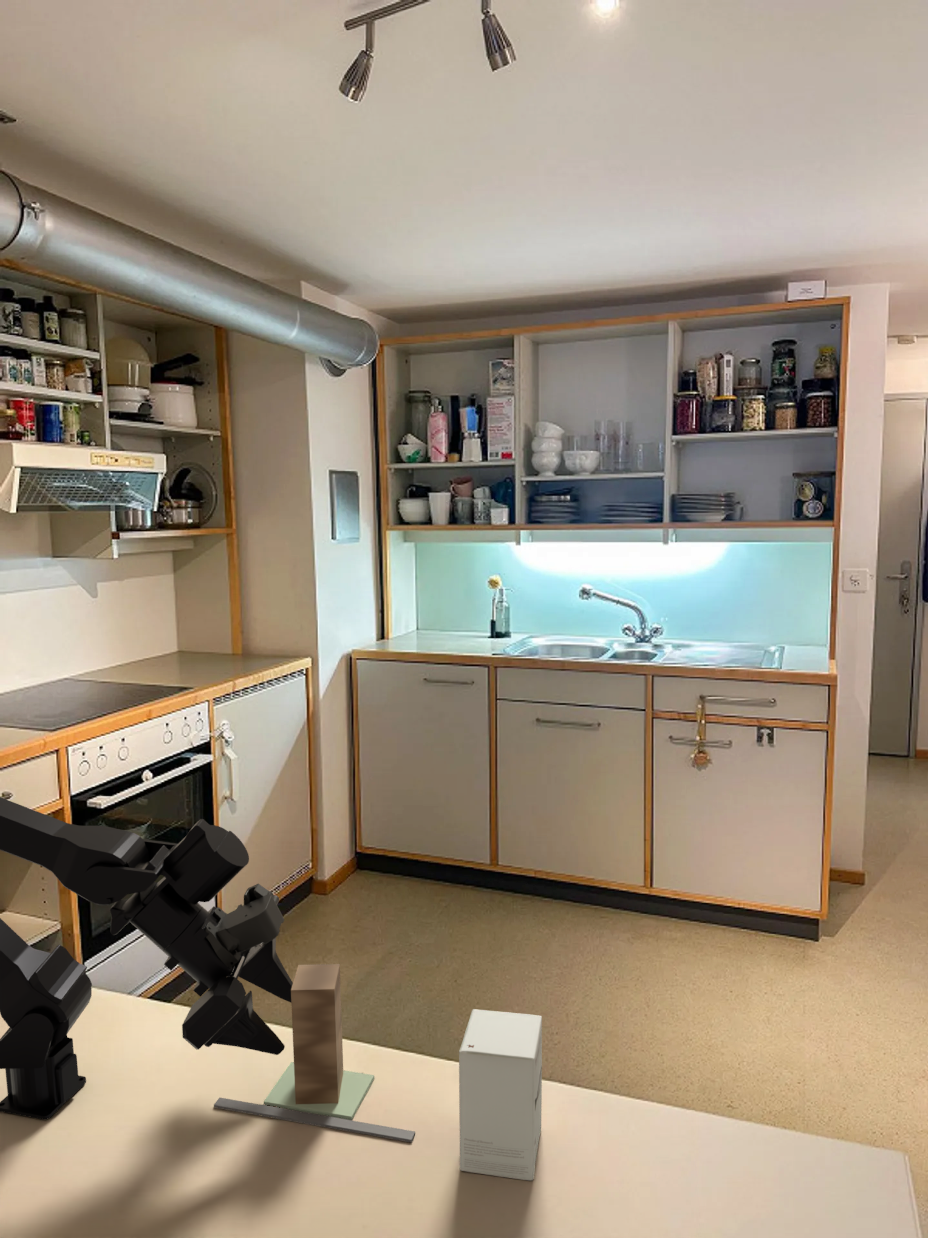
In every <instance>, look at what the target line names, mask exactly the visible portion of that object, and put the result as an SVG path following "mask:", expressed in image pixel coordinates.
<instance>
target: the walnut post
mask: <svg viewBox="0 0 928 1238" xmlns="http://www.w3.org/2000/svg"><path fill="white" fill-rule="evenodd" d="M292 982H293V985H292V988H291V1002H290V1003H291V1021H292V1022H291V1023H292V1026H291V1027H292V1048H293V1052H292V1053H293V1062H294V1076H295V1100H296V1104H329V1103H338V1102H339V1096H340V1090H341V1084H342V1078H343V1070H344V1054H343V1052H344V1051H343V1024H342V1023H343V1021H342V1020H343V1019H342V999H341V998H342V991H341V990H342V989H341V964H340V963H326V964H325V963H324V964H323V963H321V964H320V963H316V964H298V965H297V968H296V972H295V976H294V978H293V981H292Z"/></svg>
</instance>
